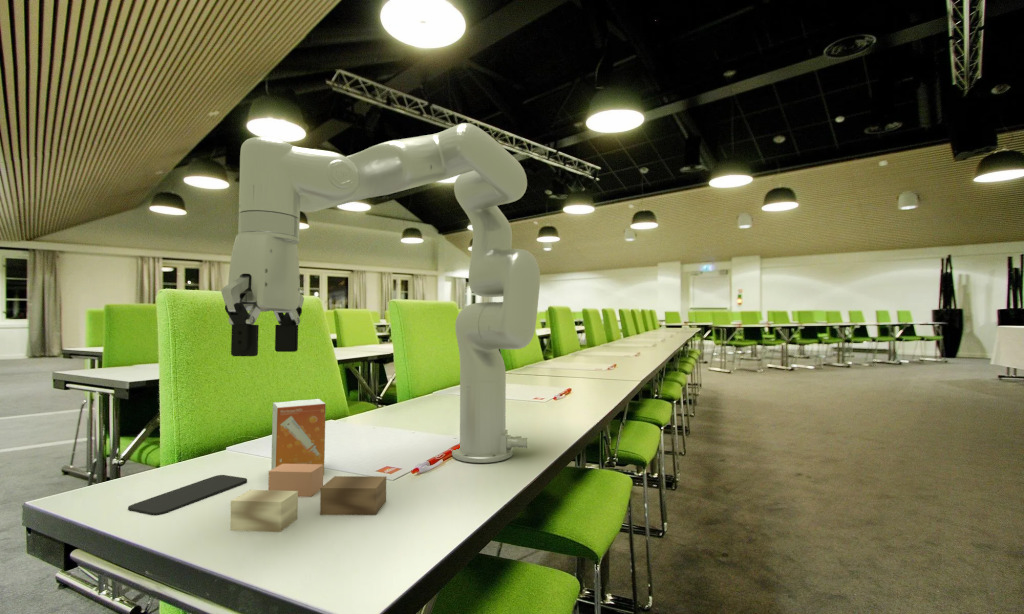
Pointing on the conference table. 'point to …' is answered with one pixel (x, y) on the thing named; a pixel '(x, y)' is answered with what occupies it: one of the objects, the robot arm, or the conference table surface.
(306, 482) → the terracotta brick
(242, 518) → the ash brick
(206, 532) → the conference table surface
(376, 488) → the walnut brick
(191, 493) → the phone
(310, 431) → the small box
